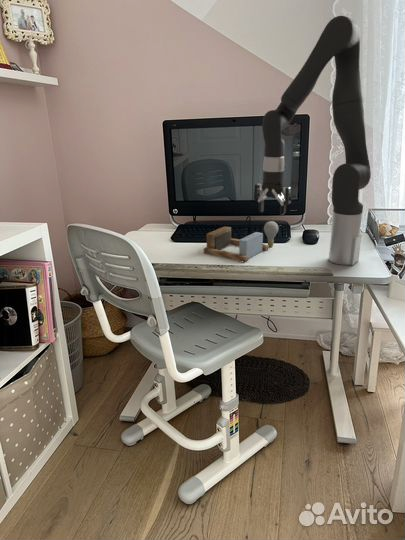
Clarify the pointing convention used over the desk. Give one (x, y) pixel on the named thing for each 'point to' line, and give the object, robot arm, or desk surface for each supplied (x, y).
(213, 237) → the vise frame
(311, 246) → the desk surface
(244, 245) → the slide jaw
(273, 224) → the light bulb
